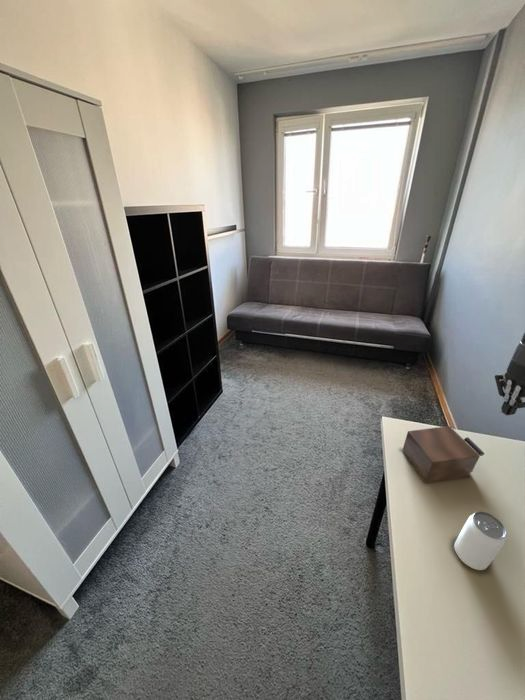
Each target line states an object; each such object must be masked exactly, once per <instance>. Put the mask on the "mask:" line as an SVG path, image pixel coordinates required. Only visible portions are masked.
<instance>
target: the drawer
mask: <svg viewBox="0 0 525 700" xmlns="http://www.w3.org/2000/svg"><path fill="white" fill-rule="evenodd" d="M451 429H452V430H453V431H454V432H455V433H456V434H457V435H458V436H459V437H460V438H461V439H462V440H463V441H464V442H465V443H466V444H467V445H468V446H469V447H470V448H471V449H472V450H473V451H474V452H475V453H476V454H477V455H478V456H479V457H478V459H477V461H476V463H475V465H474V467H473V469H472V471H471V473H473V471H474V469H475V467H476V465H477V463H478V461H479V459H480V457H483V456H484V455H485V452H484V451H483V450H482V449H481V448H480V447H479V446H478V445H477V444H476V443H475V442H474V441H473V440H472V439H470V437H468V436H467V437H465V438H463V437H462V436H461V435H460V434H459V433H458V432H457V431H456V430H454V428H451Z"/></svg>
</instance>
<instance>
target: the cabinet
mask: <svg viewBox="0 0 525 700" xmlns="http://www.w3.org/2000/svg"><path fill="white" fill-rule="evenodd" d="M452 429H453V428H452V427H451V426H449V425H446V426H438V427H430V428H422V429H414V430H408V431H407V433H406V437H405V440H404V443H403V447H402V450H401V451H402V452H403V454H404V455H405V457H406V458H407V459H408V461H409V462H410V464H411V465H412V466H413V468H414V469H415V471H416V472H417V474H418V475H419V477H420V478H421V479H422V481H423V482H424V483H431V482H432V483H433V482H439V481H440V482H441V481H447V480H453V479H461V478H467V477H470V475H471V473H472V472H473V471H472V469H473V467H474V465H475V463H476V461H477V459H478V457H479V456H480V455H479V456H478V455H477V454H476V453H475V452H476V451H475V450H474V449H473V448H472V447H471V446H470V445H469V444H468V443H467V442H466V443H467V444H468V445H469V446H470V447H471V448H472V449H473V450H474V451H475V452H474V451H473V450H472V449H471V448H470V447H469V446H468V445H467V444H466V443H465V442H464V441H463V440H462V439H461V438H460V437H459V436H458V435H457V434H456V433H455V432H454V431H453V430H452ZM479 458H480V457H479ZM478 460H479V459H478ZM477 462H478V461H477ZM476 464H477V463H476ZM475 466H476V465H475ZM474 468H475V467H474ZM473 470H474V469H473ZM471 471H472V472H471Z"/></svg>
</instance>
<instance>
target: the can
mask: <svg viewBox="0 0 525 700" xmlns="http://www.w3.org/2000/svg"><path fill="white" fill-rule="evenodd" d="M506 540H507V529H506V527H505V526H504V523H502V521H501V520H500V519H499V518H498V517H496V516H495V515H493V514H491V513H489V512H486V511H483V510H482V511H481V510H478V511H475V512H474V513H472V514H470V515H469V517H468V518H467V519H466V521H465V523H464V525H463V527H462V528H461V531H460V532H459V535H458V536H457V538H456V539H455V541H454V551H455V553H456V555H457V556H458V558H459V559H460V561H461V562H463V563H464V564H465V565H466V566H468V567H469V568H471V569H473V570H477V571H484V570H486V569H487V568H488V567H489V566H490V564H491V563H492V562H493V560H494V559H495V557H496V556H497V555H498V553H499V552H500V550H501V549H502V547H503V546H504V545H505V543H506Z"/></svg>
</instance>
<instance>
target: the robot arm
mask: <svg viewBox="0 0 525 700" xmlns="http://www.w3.org/2000/svg"><path fill="white" fill-rule="evenodd" d="M494 379H495V384H496V387H497V388H496V389H497V392H498V395H499V396H500V397H502V398H503V402H502V406H501V413H502V414H504V415H505V416H512V415H515V414H516V412H517V411H518V409H524V408H525V331H523V334H522V337H521V340H520V342H519V343H518V345H517V346H516V347H515V350H514V352H513V354H512V356H511V359H510V361H509V363H508V366H507V368H506V372H505V373H501V374H495V375H494Z"/></svg>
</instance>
